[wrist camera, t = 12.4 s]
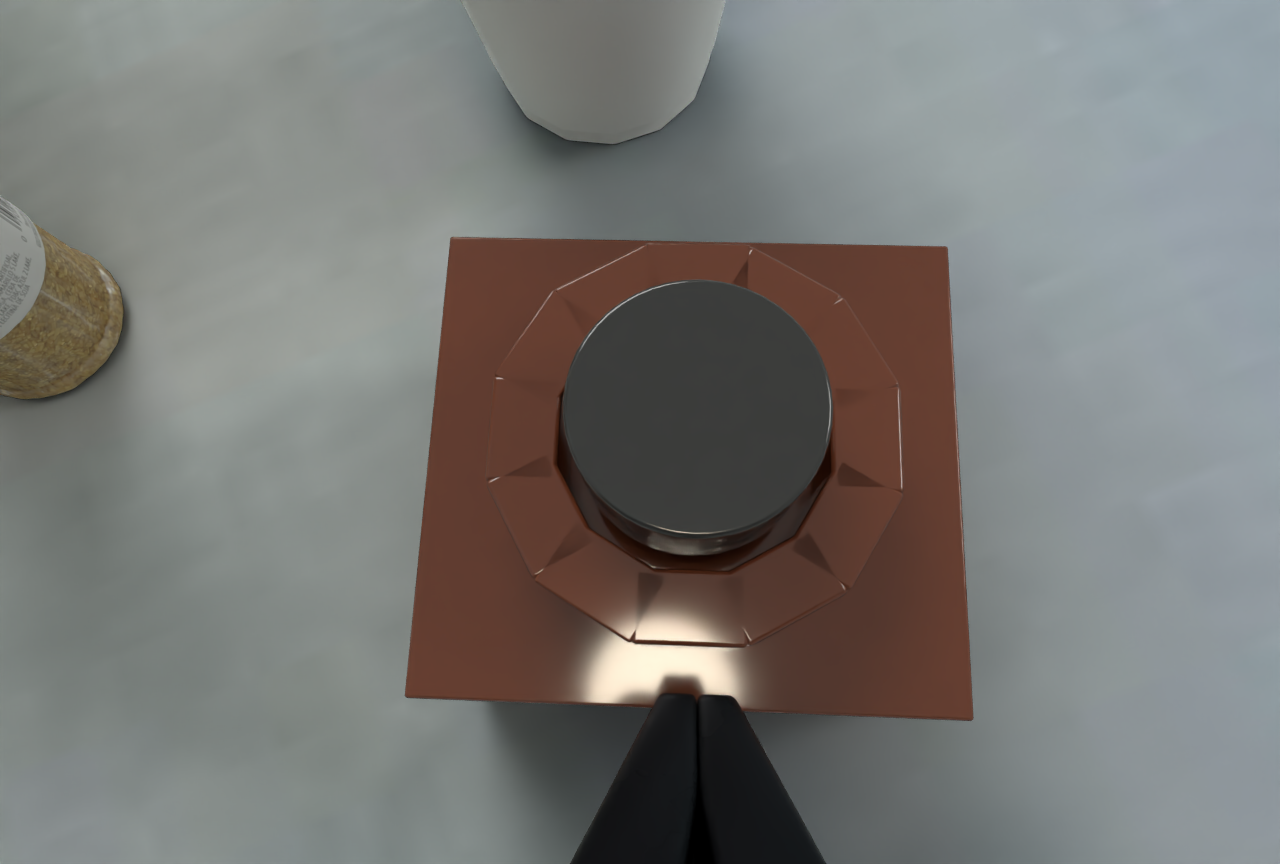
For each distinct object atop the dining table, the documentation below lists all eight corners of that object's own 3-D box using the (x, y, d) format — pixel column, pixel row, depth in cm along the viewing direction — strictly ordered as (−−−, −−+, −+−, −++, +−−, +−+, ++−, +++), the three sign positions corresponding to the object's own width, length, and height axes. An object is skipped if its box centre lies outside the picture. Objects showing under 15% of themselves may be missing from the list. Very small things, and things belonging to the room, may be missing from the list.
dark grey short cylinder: (813, 560, 14) (836, 544, 12) (570, 552, 15) (553, 534, 12) (810, 331, 15) (831, 280, 13) (583, 325, 16) (569, 274, 13)
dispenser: (885, 703, 21) (1020, 731, 13) (479, 686, 22) (365, 703, 14) (874, 355, 24) (983, 194, 15) (507, 346, 24) (422, 183, 16)
